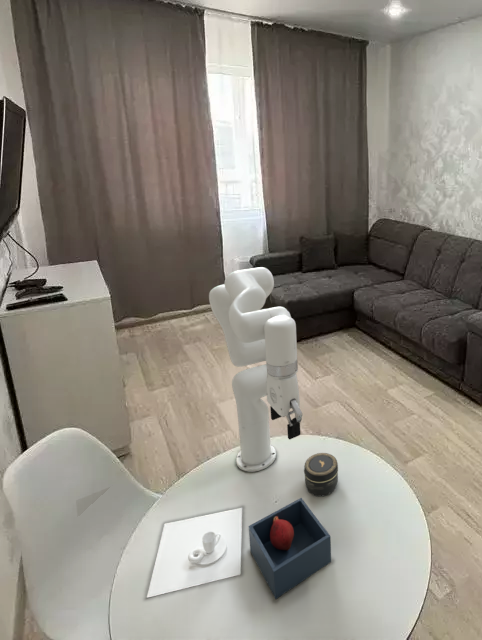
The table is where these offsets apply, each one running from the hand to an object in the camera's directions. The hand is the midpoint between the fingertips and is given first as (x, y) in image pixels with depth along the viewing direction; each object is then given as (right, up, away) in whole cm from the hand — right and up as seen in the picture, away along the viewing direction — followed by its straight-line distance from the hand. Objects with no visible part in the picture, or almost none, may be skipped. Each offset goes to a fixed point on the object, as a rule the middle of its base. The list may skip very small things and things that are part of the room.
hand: (285, 427), depth 106 cm
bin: (+2, -30, -4) cm, 30 cm away
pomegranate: (+2, -29, -4) cm, 29 cm away
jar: (+7, -25, +18) cm, 32 cm away
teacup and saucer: (-21, -30, -2) cm, 36 cm away
